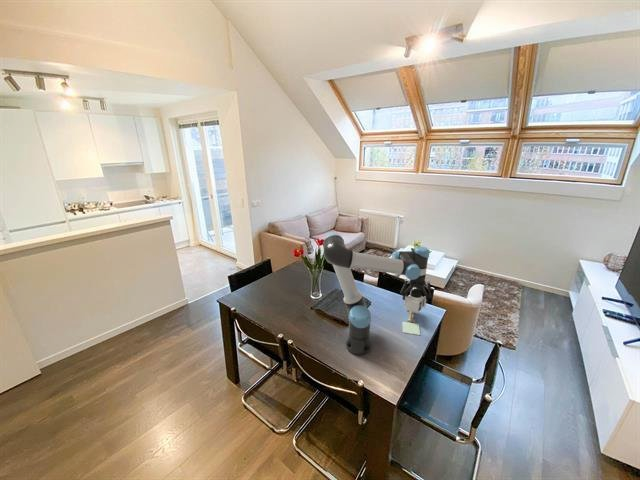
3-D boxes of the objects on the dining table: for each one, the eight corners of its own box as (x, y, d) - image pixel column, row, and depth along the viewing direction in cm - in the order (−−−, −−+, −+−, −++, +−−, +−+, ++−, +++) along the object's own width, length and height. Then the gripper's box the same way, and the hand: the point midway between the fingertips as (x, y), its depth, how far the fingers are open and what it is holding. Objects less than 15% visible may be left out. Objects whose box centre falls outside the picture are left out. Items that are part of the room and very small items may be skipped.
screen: (407, 322, 171) (409, 307, 167) (407, 309, 184) (408, 295, 180) (414, 322, 170) (416, 308, 166) (413, 309, 183) (415, 296, 179)
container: (423, 307, 160) (425, 289, 155) (416, 313, 155) (419, 294, 150) (411, 302, 165) (413, 284, 160) (404, 308, 160) (407, 289, 155)
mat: (402, 332, 162) (402, 332, 162) (402, 322, 171) (402, 321, 171) (420, 335, 160) (420, 334, 160) (418, 324, 169) (418, 324, 169)
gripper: (398, 274, 150) (394, 306, 159) (441, 278, 145) (435, 312, 153) (397, 267, 157) (394, 299, 165) (439, 272, 152) (433, 304, 160)
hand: (414, 305), depth 159 cm, fingers closed on container, 10 cm apart
